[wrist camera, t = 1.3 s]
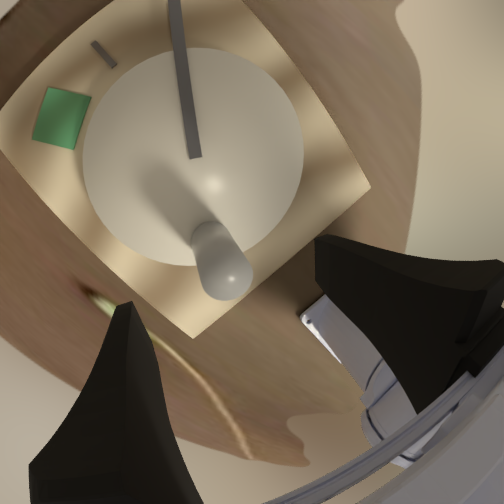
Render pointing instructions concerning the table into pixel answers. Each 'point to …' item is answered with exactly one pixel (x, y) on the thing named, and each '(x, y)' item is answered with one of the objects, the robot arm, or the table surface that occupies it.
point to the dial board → (95, 87)
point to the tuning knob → (194, 160)
